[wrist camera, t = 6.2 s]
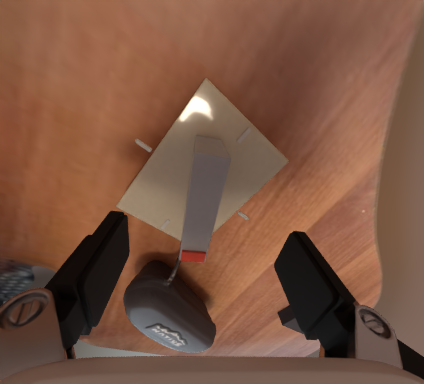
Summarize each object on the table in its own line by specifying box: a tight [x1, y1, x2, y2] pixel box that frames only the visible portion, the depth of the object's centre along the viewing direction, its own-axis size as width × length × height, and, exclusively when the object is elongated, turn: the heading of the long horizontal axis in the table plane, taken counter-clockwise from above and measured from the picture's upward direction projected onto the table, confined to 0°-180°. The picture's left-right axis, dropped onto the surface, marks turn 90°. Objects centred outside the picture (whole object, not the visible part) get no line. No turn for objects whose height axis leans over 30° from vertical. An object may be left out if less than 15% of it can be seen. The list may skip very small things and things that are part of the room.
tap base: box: [116, 78, 289, 241], centre depth 18 cm, size 14×13×3 cm
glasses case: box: [123, 256, 216, 353], centre depth 26 cm, size 18×10×8 cm, turn 28°
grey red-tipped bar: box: [179, 135, 231, 263], centre depth 14 cm, size 9×2×5 cm, turn 169°
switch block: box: [278, 299, 359, 335], centre depth 33 cm, size 12×10×4 cm
